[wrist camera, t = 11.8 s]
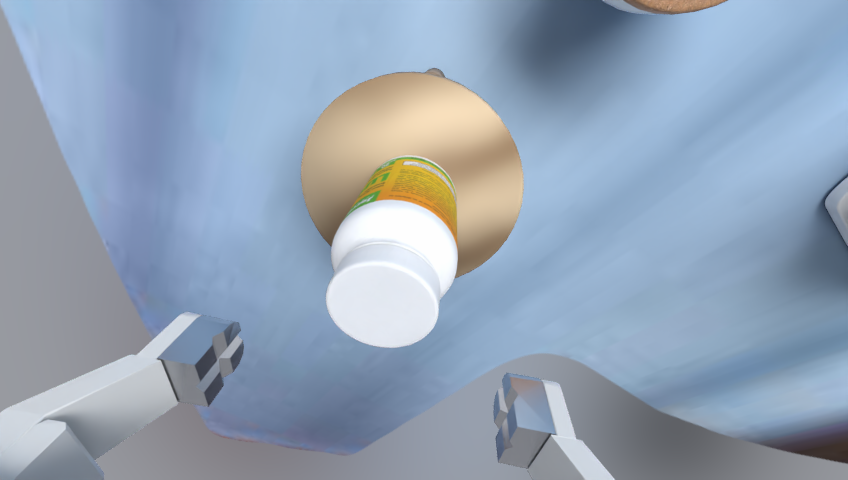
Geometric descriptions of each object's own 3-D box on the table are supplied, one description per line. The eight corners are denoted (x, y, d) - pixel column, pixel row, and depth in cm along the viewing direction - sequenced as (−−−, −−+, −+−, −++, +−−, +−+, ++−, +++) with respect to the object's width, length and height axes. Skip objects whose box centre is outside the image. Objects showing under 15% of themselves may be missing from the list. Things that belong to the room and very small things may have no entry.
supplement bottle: (390, 135, 19) (333, 213, 10) (474, 181, 20) (490, 289, 11) (354, 212, 21) (286, 327, 13) (430, 249, 22) (415, 379, 14)
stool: (530, 172, 29) (562, 224, 21) (408, 244, 34) (393, 310, 26) (443, 22, 24) (437, 7, 15) (314, 133, 29) (255, 170, 20)
